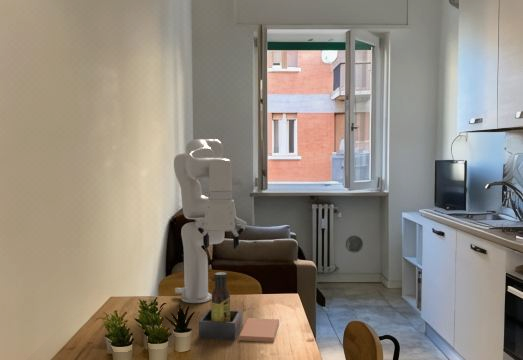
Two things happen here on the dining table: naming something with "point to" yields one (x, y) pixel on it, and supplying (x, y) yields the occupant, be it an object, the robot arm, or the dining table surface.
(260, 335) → the plate
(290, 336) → the dining table surface
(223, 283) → the sauce bottle
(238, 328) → the bottle holder
